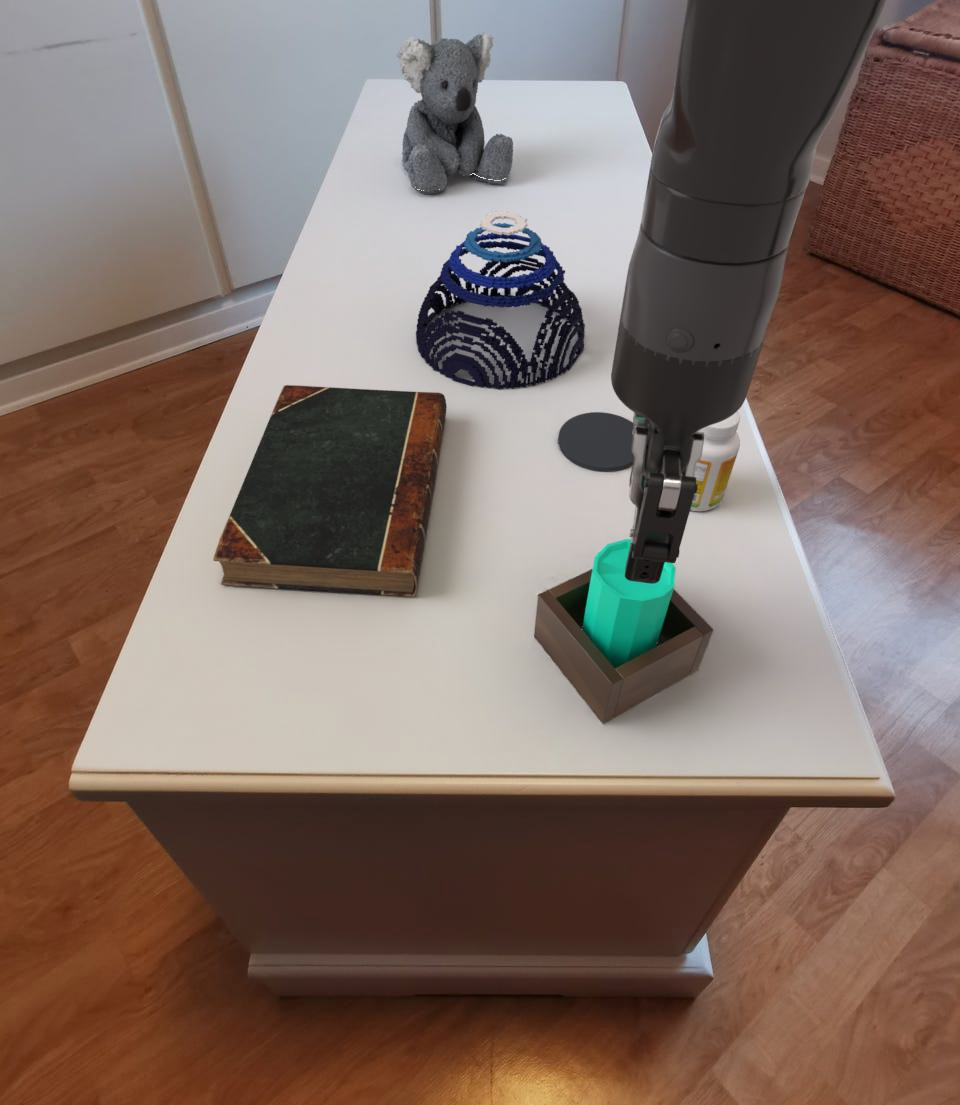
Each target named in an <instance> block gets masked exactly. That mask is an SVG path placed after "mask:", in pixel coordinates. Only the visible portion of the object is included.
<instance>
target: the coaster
mask: <svg viewBox="0 0 960 1105" xmlns="http://www.w3.org/2000/svg"><path fill="white" fill-rule="evenodd" d="M632 431H633V421H631V420H629V419H627V418H625V417H623V416H620V415H618V414H614V413H611V412H603V411H593V412H591V411H590V412H585V413H581V414H577V415H575V416H573V417H571V418H569V419H568V420H566V421H565V422H564V423H563V425H562V426H561V427H560V429H559V431H558V437H557V443H558V447H559V451H561V453H562V454H563V456H564V457H565V458H566V459H567V460H569V462H571V463H573V464H574V465H576V466H579V467H581V468H583V469H586V470H590V471H594V472H604V473H605V472H607V473H608V472H617V471H621V470H622V471H623V470H625V469H628V468H630V467H632V465H633V460H634V454H633V453H632V450H631V447H632V440H633V434H632Z"/></svg>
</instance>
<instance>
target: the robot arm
mask: <svg viewBox="0 0 960 1105" xmlns="http://www.w3.org/2000/svg"><path fill="white" fill-rule="evenodd" d="M887 2H888V0H686V4H685V11H684V17H683V24H682V29H681V30H682V31H681V36H680V42H679V43H680V44H679V50H678V55H677V56H678V57H677V61H676V62H677V63H676V70H675V77H674V82H673V89H672V97H671V100H670V101H669V103H668V104H667V105H666V108H665V110H664V111H663V113H662V116H661V119H660V122H659V126H658V128H657V133H656V136H655V141H654V145H653V150H652V155H651V159H650V165H649V166H650V167H649V172H648V178H647V183H646V189H645V190H646V191H645V196H644V202H643V208H642V213H641V220H640V225H639V230H638V234H637V238H636V241H635V244H634V247H633V250H632V253H631V257H630V260H629V264H628V268H627V274H626V279H625V285H624V292H623V298H622V303H621V304H622V305H621V311H620V316H619V323H618V329H617V336H616V341H615V349H614V354H613V361H612V367H611V373H610V381H611V385H612V389H613V391H614V393H615V396H616V397H617V398H618V400H620V402H621V403H622V404H623V405H624V406H625V407H626V408H628V409H629V410H630V411H631V412H632V413H633V416H632V423H633V431H632V434H633V440H632V447H631V450H632V453H633V454H634V460H633V465H632V466H631V469H630V470H631V471H630V476H629V484H628V486H629V490H628V491H629V492H628V498H629V500H630V501H631V503H632V504H633V505H635V510H634V516H633V522H632V523H633V524H632V528H630V530H629V538H630V539H631V544H630V548H629V553H628V557H627V561H626V566H625V578H626V579H627V580H629V581H635V582H643V583H650V584H654V583H657V582H659V580H660V578H661V574H662V570H663V567H664V563H665V562H667V563H673V564H676V562H677V559H678V558H679V557H680V551H681V550H680V548H681V545H682V541H683V537H684V533H685V530H686V527H687V523H688V519H689V515H690V512H691V510H690V509H691V505H692V501H693V498H694V494H696V493H697V488H698V484H696V477H694V472H695V466H696V463H697V462H698V461H699V460H700V459H701V456H702V450H703V444H704V432H697V431H699V430H700V429H702V428H705V427H707V426H710V425H712V424H716V423H719V422H721V421H723V420H725V419H727V418H729V417H731V416H732V415H733V414H735V413H736V412H737V411H738V412H739V410H740V409H741V408H742V406H743V404H744V403H745V400H746V398H747V395H748V393H749V389H750V386H751V383H752V380H753V377H754V374H755V371H756V368H757V364H758V361H759V358H760V354H761V352H762V349H763V346H764V342H765V339H766V337H767V336H766V335H767V333H768V330H769V327H770V323H771V320H772V318H773V314H774V313H775V312H774V311H775V308H776V306H777V303H778V299H779V296H780V291H781V287H782V283H783V277H784V271H785V267H786V266H785V265H786V260H787V255H788V251H789V247H790V242H791V240H792V238H793V234H794V231H795V228H796V224H797V222H798V218H799V215H800V212H801V209H802V205H803V203H804V199H805V197H806V193H807V189H808V187H809V184H810V180H811V176H812V172H813V168H814V166H815V160H816V156H817V152H818V148H819V144H820V142H821V139H822V137H823V136H824V133H825V131H826V130H827V128H828V126H829V125H830V123H831V121H832V119H833V118H834V116H835V114H836V112H837V110H838V108H839V106H840V105H841V102H842V100H843V98H844V96H845V94H846V92H847V89H848V87H849V85H850V84H851V82H852V79H853V77H854V75H855V73H856V71H857V69H858V66H859V64H860V62H861V60H862V58H863V56H864V54H865V53H866V50H867V47H868V45H869V44H870V41H871V39H872V37H873V34H874V32H875V31H876V28H877V26H878V23H879V21H880V19H881V16H882V14H883V12H884V9H885V7H886V4H887ZM681 474H682V476H681Z"/></svg>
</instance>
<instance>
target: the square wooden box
mask: <svg viewBox="0 0 960 1105" xmlns="http://www.w3.org/2000/svg"><path fill="white" fill-rule="evenodd" d="M592 569H593V568H591V569H589V570H587V571H585V572H583V573H580V574H579V575H575V576H574V577H572V578H570V579H568V580H565V581H564V582H562V583H560V584H557V585H555V586H553V587H551V588H549V589H546V590H545V591H543V592H541V593H538V595H537V601H536V612H535V622H534V634H533V637H534V638H535V640H536V641H537V642H538V644H539V645H540V646H541V647H542V648H543V650H544V652H545V653H547V655H548V656H549V657H550V659H551V660H552V662H554V664H555V665H556V667H557V668H558V669H559V670H560V671H561V673H562V674H563V675H564V677H565V678H566V680H568V682H569V683H570V685H571V686H572V687H573V688H574V690H576V692H577V693H578V695H579V696H580V697H581V698H582V700H583V701H584V703H586V705H587V706H588V707H589V708H590V710H591V711H592V712H593V714H594V715H595V716H596V717H597V719H598V720H599V721H600V722H601V724H603V725H604V724H605V723H607V722H609V721H611V720H613V719H614V718H616V717H618V716H620V715H622V714H624V713H625V712H627V711H628V710H630V709H632V708H634V707H636V706H637V705H639V704H641V703H643V702H644V701H646V700H649V699H650V698H652V697H654V696H656V695H657V694H659V693H661V692H663V691H665V690H666V689H668V688H669V687H671V686H673V685H675V684H677V683H679V682H681V681H682V680H684V679H686V678H688V677H689V676H691V675H693V674H695V673H697V672H698V671H699V669H700V668H701V665H702V661H703V659H704V656H705V654H706V651H707V649H708V646H709V643H710V641H711V638H712V636H713V634H714V633H713V632H714V628H713V627H712V626H711V625H710V624H709V623H708V622H707V621H706V620H705V619H704V618H703V617H702V616H701V615H700V614H699V613H698V612H697V611H696V610H695V609H694V608H693V607H692V606H691V605H690V603H688V601H687V600H685V599H684V598H683V597H682V596H681V594H680V593H679V592H678V591H676V589H673V592H672V596H671V599H670V602H669V606H668V609H667V612H666V616H665V619H664V622H663V626H662V629H661V632H660V636H659V639H658V642H657V643H658V644H659V645H657V646H656V647H655V648H653V649H651V650H649V651H647V652H646V653H644V654H642V655H640V656H638V657H636V658H634V659H632V660H630V661H629V662H627V663H625V664H623V665H621V666H619V667H617V668H616V669H615V668H614V667H613V666H612V665H611V664H610V662H609V661H608V660H607V659H606V658H605V656H604V655H603V654H602V653H601V652H600V650H599V649H598V648H597V647H596V646H595V645H594V643H593V642H592V641H591V640H590V639H589V637H588V636H587V635H586V634H585V633H584V631H583V630H582V627H581V626H582V625H583V621H584V615H585V609H586V604H587V598H588V592H589V586H590V580H591V575H592Z"/></svg>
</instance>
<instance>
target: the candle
mask: <svg viewBox="0 0 960 1105" xmlns="http://www.w3.org/2000/svg"><path fill="white" fill-rule="evenodd" d="M630 544H631V538H625V539H622V540H621V539H620V540H616V541H614V542H610V543H607V544H606V545H604V547H602V549H601V550H599V552H598V553H597V554H596V555H594V558H593V562H592V568H591V569H592V575H591V580H590V586H589V592H588V598H587V604H586V609H585V615H584V621H583V624H582V627H581V629H582V630H583V631H584V633H585V634H586V635H587V636H588V637H589V639H590V640H591V641H592V642H593V643H594V645H595V646H596V647H597V648H598V649H599V650H600V652H601V653H602V654H603V655H604V656H605V658H606V659H607V660H608V661H609V662H610V664H611V665H612V666H613V667H614V668H615V669H616V668H617V667H619V666H621V665H623V664H625V663H627V662H629V661H630V660H632V659H634V658H636V657H638V656H640V655H642V654H644V653H646V652H647V651H649V650H651V649H653V648H655V647H657V646H658V643H659V642H658V639H659V636H660V632H661V629H662V626H663V622H664V619H665V616H666V612H667V609H668V606H669V602H670V599H671V596H672V592H673V589H674V588H675V583H676V569H677V567H676V566H675V564H674V563H667V562H665V563H664V567H663V570H662V574H661V578H660V580H659V582H657V583H654V584H650V583H643V582H635V581H629V580H627V579H626V578H625V566H626V561H627V557H628V553H629V548H630ZM674 590H675V589H674Z"/></svg>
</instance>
